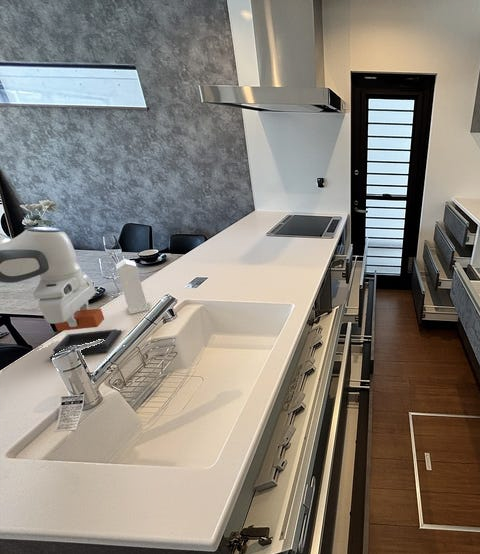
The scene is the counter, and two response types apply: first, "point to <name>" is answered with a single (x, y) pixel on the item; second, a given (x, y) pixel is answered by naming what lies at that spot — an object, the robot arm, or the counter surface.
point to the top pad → (83, 320)
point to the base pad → (89, 337)
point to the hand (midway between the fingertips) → (80, 320)
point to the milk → (131, 286)
